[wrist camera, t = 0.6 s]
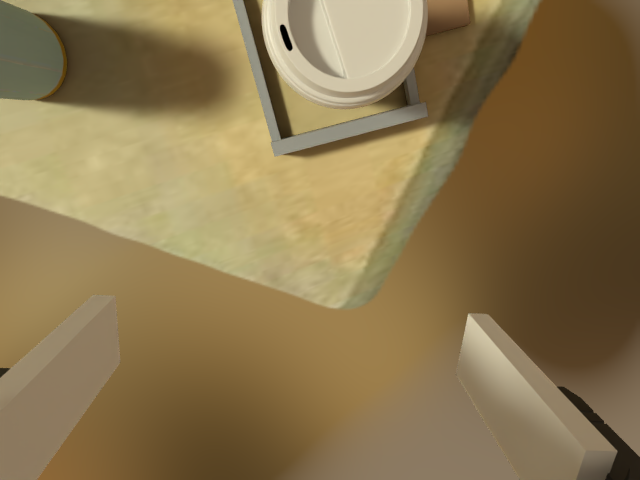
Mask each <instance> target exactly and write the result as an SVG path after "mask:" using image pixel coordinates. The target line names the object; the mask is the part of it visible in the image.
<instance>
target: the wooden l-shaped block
mask: <svg viewBox="0 0 640 480" xmlns="http://www.w3.org/2000/svg"><path fill="white" fill-rule="evenodd" d="M427 6H428V22H427V30H426V36H429V35H433V34H437V33H440V32H444V31H448V30H452V29H455V28H459V27H463V26H467V25H468V24H470V17H469V9H468V2H467V0H427Z"/></svg>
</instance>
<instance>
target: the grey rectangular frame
mask: <svg viewBox="0 0 640 480" xmlns="http://www.w3.org/2000/svg"><path fill="white" fill-rule="evenodd" d="M233 3H234V7H235V10H236V14H237V17H238V21H239V25H240V28H241V32H242V35H243V39H244V42H245V46H246V50H247V53H248V57H249V60H250V64H251V68H252V71H253V75H254V78H255V82H256V85H257V89H258V93H259V96H260V100H261V103H262V107H263V111H264V114H265V118H266V121H267V125H268V128H269V132H270V136H271V139H272V142H271V145H272V149H273V152H274V156H279V155H283V154H287V153H290V152H294V151H298V150H302V149H306V148H310V147H313V146H317V145H321V144H325V143H329V142H332V141H336V140H340V139H344V138H348V137H352V136H355V135H359V134H363V133H367V132H371V131H375V130H378V129H382V128H386V127H390V126H394V125H397V124H401V123H405V122H409V121H413V120H417V119H420V118H424V117H428V112H427V106H426V102H423V103H420V101H419V95H418V89H417V83H416V77H415V71H414V67H413V69H412V71H411V72H410V74H409V75H408V76H407V78H406V79H405V80H404V81H403V82H404V88H405V94H406V99H407V105H408V106H404V107H401V108H397V109H393V110H389V111H385V112H382V113H378V114H374V115H370V116H366V117H363V118H359V119H355V120H351V121H347V122H343V123H340V124H336V125H332V126H328V127H324V128H321V129H317V130H313V131H309V132H305V133H302V134H298V135H294V136H290V137H286V138H283V139H281V136H280V132H279V128H278V125H277V121H276V117H275V114H274V110H273V106H272V103H271V99H270V95H269V92H268V88H267V84H266V81H265V77H264V73H263V69H262V66H261V62H260V58H259V55H258V51H257V47H256V44H255V40H254V36H253V33H252V29H251V25H250V22H249V18H248V14H247V11H246V7H245V3H244V0H233Z"/></svg>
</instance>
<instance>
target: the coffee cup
mask: <svg viewBox="0 0 640 480" xmlns="http://www.w3.org/2000/svg"><path fill="white" fill-rule="evenodd" d="M427 22H428V6H427V0H263V5H262V29H263V36H264V41H265V45H266V48H267V51H268V54H269V56H270V59H271V61H272V63H273V65H274V66H275V68H276V70H277V71H278V73H279V74H280V76H281V77H282V78H283V80H284V81H285V82H286V83H287V84H288V85H289V86H290V87H291V88H292V89H293V90H294V91H295V92H297V93H298V94H299V95H301V96H302V97H304V98H306V99H307V100H309V101H311V102H313V103H316V104H318V105H321V106H324V107H329V108H334V109H354V108H359V107H364V106H367V105H370V104H372V103H375V102H377V101H379V100H381V99H383V98H384V97H386V96H387V95H389V94H390V93H391V92H393V91H394V90H395V89H396V88H397V87H398V86H399V85H400V84H401V83H402V82H403V81H404V80H405V79H406V78H407V76H408V75H409V74H410V72H411V71H412V69H413V67H414V66H415V64H416V62H417V60H418V58H419V55H420V53H421V50H422V47H423V44H424V40H425V36H426V30H427Z"/></svg>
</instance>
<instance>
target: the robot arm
mask: <svg viewBox="0 0 640 480" xmlns="http://www.w3.org/2000/svg"><path fill="white" fill-rule="evenodd" d="M119 363H120V354H119V340H118V327H117V313H116V299H115V296H103V295H93V296H92V297H90V298H89V299H88V300H87V301H86V302H85V303H84V304H83V305H82V306H80V307H79V308H78V309H77V310H76V311H75V312H74V313H72V314H71V315H70V316H69V317H68V318H67V319H66V320H65V321H64V322H62V323H61V324H60V325H59V326H58V327H57V328H56V329H55V330H53V331H52V332H51V333H50V334H49V335H48V336H47V337H46V338H45V339H43V340H42V341H41V342H40V343H39V344H38V345H37V346H35V347H34V348H33V349H32V350H31V351H30V352H29V353H28V354H27V355H25V356H24V357H23V358H22V359H21V360H20V361H19V362H17V363H16V365H14V366H13V367H12V368H0V480H37V479H38V477H39V476H40V474H41V473H42V472H43V470H44V469H45V467H46V466H47V465H48V463H49V462H50V460H51V459H52V457H53V456H54V455H55V453H56V452H57V451H58V449H59V448H60V446H61V445H62V443H63V442H64V441H65V439H66V438H67V436H68V435H69V434H70V432H71V431H72V429H73V428H74V426H75V425H76V424H77V422H78V421H79V420H80V418H81V417H82V415H83V414H84V413H85V411H86V410H87V408H88V407H89V406H90V404H91V403H92V401H93V400H94V398H95V397H96V396H97V394H98V393H99V391H100V390H101V389H102V387H103V386H104V384H105V383H106V381H107V380H108V379H109V377H110V376H111V375H112V373H113V372H114V370H115V369H116V368H117V366H118V365H119ZM456 376H457V378H458V379H459V381H460V382H461V384H462V386H463V388H464V389H465V391H466V393H467V394H468V396H469V397H470V399H471V401H472V402H473V404H474V406H475V407H476V409H477V411H478V412H479V414H480V416H481V417H482V419H483V421H484V422H485V424H486V425H487V427H488V429H489V430H490V432H491V434H492V435H493V437H494V439H495V440H496V442H497V444H498V445H499V447H500V449H501V450H502V452H503V453H504V455H505V457H506V459H507V460H508V462H509V464H510V465H511V467H512V468H513V470H514V472H515V473H516V475H517V477H518V478H519V480H640V457H639V456H638V455H637V454H636V453H635V452H634V451H633V450H632V449H631V448H630V447H629V446H628V445H627V444H626V443H625V442H624V441H623V440H622V439H621V438H620V437H619V436H618V435H617V434H616V433H615V432H614V431H613V430H612V429H611V428H610V427H609V426H608V425H607V424H604V421H603V420H602V419H601V418H600V417H599V416H598V415H597V414H596V413H594V412H593V410H592V409H591V408H590V407H589V406H588V405H587V404H586V403H585V402H584V401H583V400H582V399H581V398H580V397H578V396H577V395H575V394H574V393H572V392H571V391H569V390H568V389H566V388H565V387H556V386H555V385H554V384H553V383H552V382H551V380H550V379H548V377H547V376H546V375H545V374H544V373H543V372H542V371H541V370H540V369H539V368H538V367H537V366H536V365H535V364H534V363H533V362H532V360H531V359H529V357H528V356H527V355H526V354H525V353H524V352H523V351H522V350H521V349H520V348H519V347H518V346H517V345H516V344H515V342H514V341H513V340H512V339H511V338H510V337H509V336H508V335H507V334H506V333H505V332H504V331H503V330H502V329H501V328H500V327H499V326H498V325H497V323H496V322H495V321H494V320H493V319H492V318H491V317H490V316H489V315H488V314H471V313H469V314H468V319H467V324H466V328H465V333H464V338H463V343H462V347H461V352H460V357H459V362H458V367H457V372H456Z"/></svg>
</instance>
